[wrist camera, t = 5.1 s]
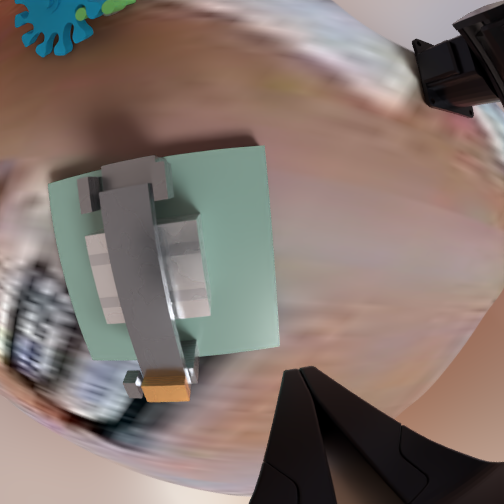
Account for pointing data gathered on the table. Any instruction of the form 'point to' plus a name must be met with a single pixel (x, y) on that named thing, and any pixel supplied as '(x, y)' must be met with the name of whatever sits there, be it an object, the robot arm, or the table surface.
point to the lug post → (192, 362)
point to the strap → (144, 291)
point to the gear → (63, 21)
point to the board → (216, 249)
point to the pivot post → (126, 180)
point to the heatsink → (175, 264)
